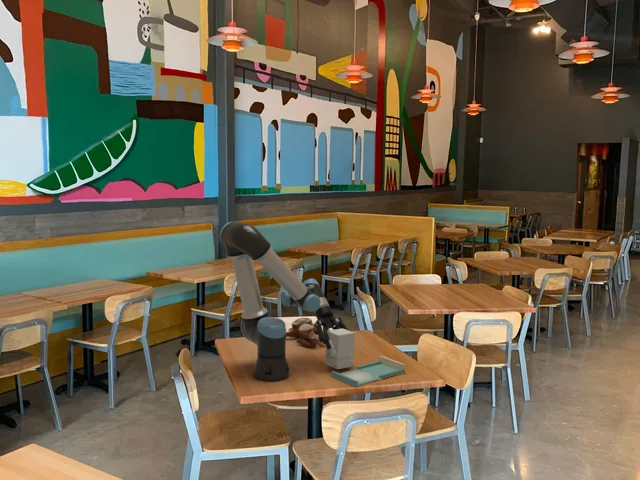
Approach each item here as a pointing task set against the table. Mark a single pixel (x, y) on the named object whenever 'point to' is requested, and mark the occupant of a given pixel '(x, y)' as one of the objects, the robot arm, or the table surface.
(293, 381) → the table surface
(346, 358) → the supplement box
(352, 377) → the teal flat tray
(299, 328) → the toy
